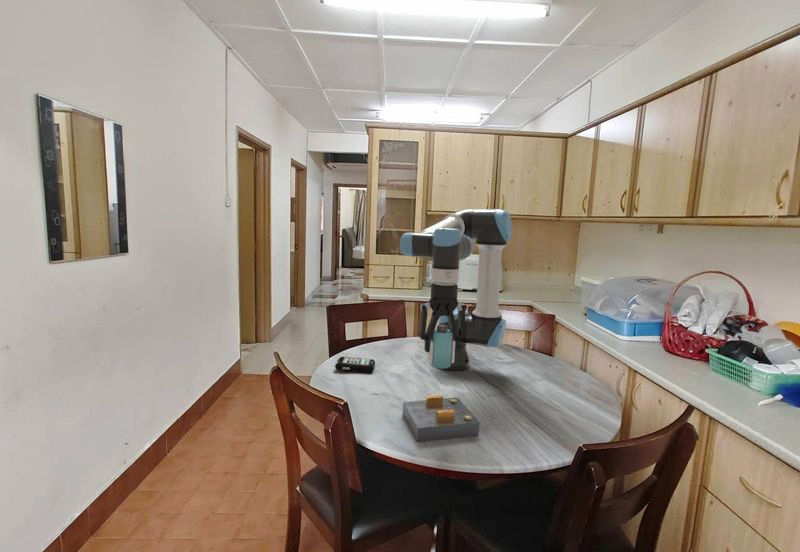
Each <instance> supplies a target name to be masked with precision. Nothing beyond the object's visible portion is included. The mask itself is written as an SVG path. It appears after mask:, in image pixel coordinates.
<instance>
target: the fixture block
mask: <svg viewBox="0 0 800 552" xmlns="http://www.w3.org/2000/svg"><path fill="white" fill-rule="evenodd" d="M402 415H403V417H404V419H405V421H406V423H407V425H408V427H409V429H410V431H411V433H412V434H413V437H414V439H415V441H416V442H417V443H421V442H430V441H440V440H448V439H457V438H458V439H459V438H469V437H477V436H479V433H480V421H479V420H478V419H477V417H475V415H474V414H473V413H472V412H471V411H470V410H469V409H468V407H467V406H466V405H465V404H464V403H463V402H462V401H461V399H460V398H459V397H449V398H444V396H443V395H441V394H439V395H426V396H425V399H424V400H413V401H412V400H411V401H403V402H402Z"/></svg>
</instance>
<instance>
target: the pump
mask: <svg viewBox="0 0 800 552" xmlns="http://www.w3.org/2000/svg"><path fill="white" fill-rule="evenodd" d="M447 328H448V326H446V325H439V324H436V328H435V330H434V333H433V335H432V338H431V340H432V341H433V359H432V364H429V365H430V367H432V368H436V369H441V368H449V367H450V366H451V352H452V333H453V332H452V331H451V330H448V329H447Z"/></svg>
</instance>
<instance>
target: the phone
mask: <svg viewBox="0 0 800 552" xmlns="http://www.w3.org/2000/svg"><path fill="white" fill-rule="evenodd" d="M375 365H376V361H375V360H374V359H372V358H363V357H360V358H359V357H350V356H339V358H337V359H336V364H335V365H334V366H335V369H336V370H337V371H340V372H343V371H349V372H360V373H361V372H362V373H368V374H369V373H370V374H371V373H373V372H374V369H375Z"/></svg>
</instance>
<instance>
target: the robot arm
mask: <svg viewBox="0 0 800 552" xmlns="http://www.w3.org/2000/svg"><path fill="white" fill-rule="evenodd" d="M512 234H513V225H512V218H511V215H510V213H509V211H508V210H506V209H497V208H492V209H491V208H490V209H489V208H465V209H462V210H461V209H460V210H458V211H455V212H452V213H450V214H448V215H445V217H443V219H442V220H441V221H439V222H437V223H435V224H433V225H430V226H429V227H427V228H425V229H423V230H421V231H418V232H414V231H412V232H404V233H403V234H402V236H401V237H400V241H399V250H400V252H401V253H400V254H402V255H403V256H407V257H412V258H414V257H416V258H426V259H427V258H429V259H430V258H431V259H432V262H431V264H432V265H431V277H430V278H431V280H430V281H431V282H432V283H431V284H430V298H429V301H428V302H427V303H420V304H419V309H420V317H419V318H420V319H419V327H418V338H420V339H421V340H422V341H424V346H423V348H424V349H423V350H424V351H425V352H426V362H427V363H428V364H429V365H430V364H432V359H433V341H432V340H431V338H432V335H433V333H434V330H435V329H436V328H437V325H446V326H448V328H447V329H448V330H451V331H452V332H453V333H452V352H451V366H450V367H449V368H440V369H441V370H445V371H454V372H456V371H464V370H467V369H469V367H470V357H469V354H468V350H467V344H469V345H470V344H471V345H475V346H481V347H486V348H495V349H496V348H498V347H499V346H500V345H501V343H502V342H503V338H504V335H505V332H506V331H505V330H506V325H507V323H506V322H507V320H506V319H504V318H503V314H502V312H501V311H500V310H499V302H500V299H499V298H500V286H501V285H500V284H501V273H502V271H501V270H502V268H501V267H502V255H503V249H504V248H505V247H506V246H507V242H509V241H511V240H512V236H513V235H512ZM473 240H475V246H477V247H478V250H479V251H478V265H477V266H478V268H477V285H476V305H475V306H476V307H475V308H474V310H473V311H472V312H471V314H469V311H468V310H467V308H468V306H467V305H466V304H465V303H463V302H462V303H461V302H459V301H458V291H459V290H458V289H459V287H458V284H457V283H458V282H459V274H460V273H459V271H460V270H459V269H460V261H462V260H465V259H467V258H468V257H470V256H471V255H472V253H473V251H474V242H473ZM429 309H431V310H432V313H431V317H430V320H429V323H428V326H427V322H428V311H429ZM437 323H438V324H437Z"/></svg>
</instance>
